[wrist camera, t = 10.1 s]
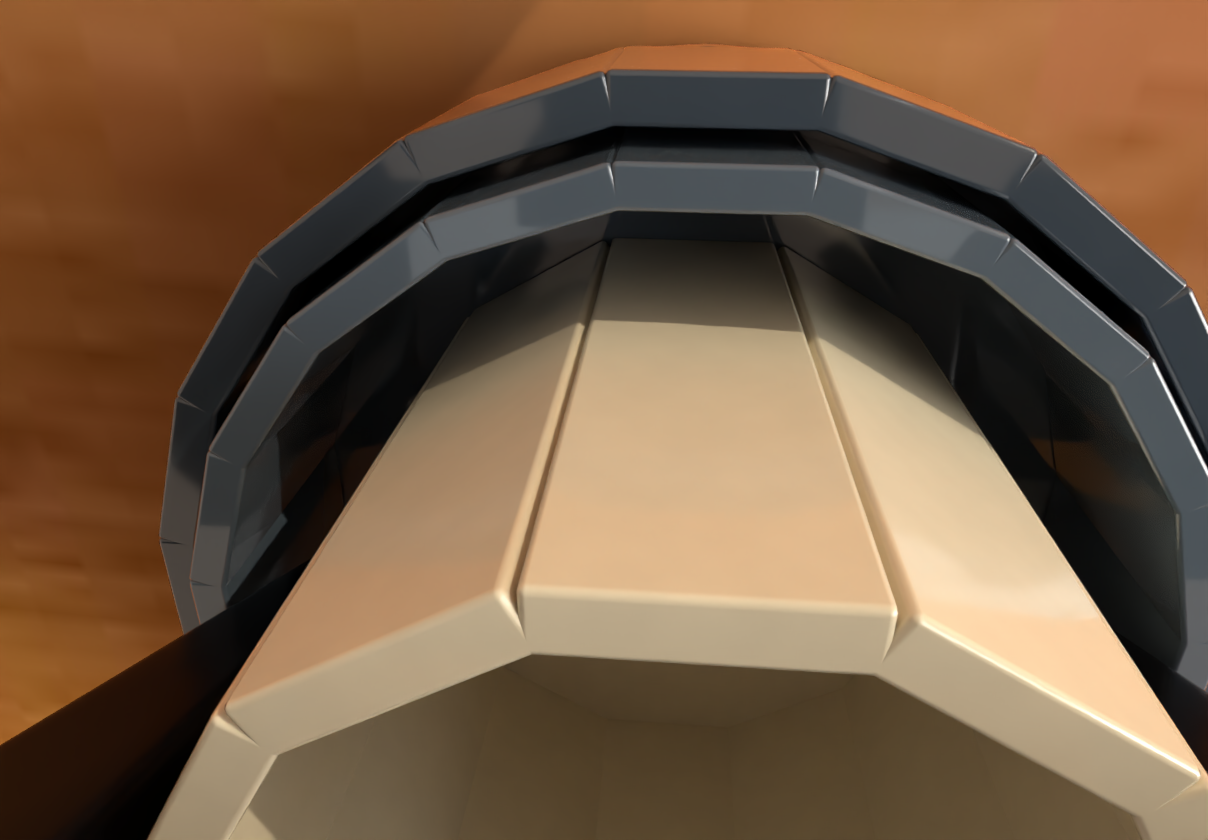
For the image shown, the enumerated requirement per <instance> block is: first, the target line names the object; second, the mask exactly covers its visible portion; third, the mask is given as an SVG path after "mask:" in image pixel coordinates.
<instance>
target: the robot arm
mask: <svg viewBox="0 0 1208 840" xmlns="http://www.w3.org/2000/svg"><path fill="white" fill-rule="evenodd" d="M311 559H312V558H311ZM311 559H309V560H307V561H305V562H304V563H302V564H300V565H299V566H297V567H295V568H294V569H292V570H290V571H289V572H287V573H285V574H284V575H282V576H280V577H279V578H277V579H275V580H274V581H272V582H270V583H269V584H267V585H265V586H264V587H262V588H260V589H259V590H257V591H255V592H254V593H252V594H251V595H249V596H247V597H246V598H244V599H242V600H241V601H239V602H237V603H236V604H234V605H232V606H231V607H229V608H227V609H226V610H224V611H222V612H221V613H219V614H217V615H216V616H214V617H212V618H211V619H209V620H207V621H206V622H204V623H202V624H201V625H199V626H197V627H196V628H194V629H192V630H191V631H189V632H187V633H186V634H184V635H182V636H181V637H179V638H177V639H176V640H174V641H173V642H171V643H169V644H168V645H166V646H164V647H163V648H161V649H159V650H158V651H156V652H154V653H153V654H151V655H149V656H148V657H146V658H144V659H143V660H141V661H139V662H138V663H136V664H134V665H133V666H131V667H129V668H128V669H126V670H124V671H123V672H121V673H119V674H118V675H116V676H114V677H113V678H111V679H109V680H108V681H106V682H104V683H103V684H101V685H99V686H98V687H96V688H94V689H93V690H91V691H90V692H88V693H86V694H85V695H83V696H81V697H80V698H78V699H76V700H75V701H73V702H71V703H70V704H68V705H66V706H65V707H63V708H61V709H60V710H58V711H56V712H55V713H53V714H51V715H50V716H48V717H46V718H45V719H43V720H41V721H40V722H38V723H36V724H35V725H33V726H31V727H30V728H28V729H26V730H25V731H23V732H21V733H20V734H18V735H16V736H15V737H13V738H11V739H10V740H8V741H6V742H5V743H3V744H1V745H0V840H146V839H147V837H148V835H149V834H150V832H151V830H152V828H153V826H154V824H155V822H156V820H157V818H158V816H159V814H160V812H161V811H162V809H163V807H164V805H165V803H166V801H167V799H168V797H169V795H170V793H171V791H172V789H173V788H174V786H175V784H176V782H177V780H178V778H179V776H180V774H181V772H182V770H183V768H184V766H185V765H186V763H187V761H188V759H189V757H190V755H191V753H192V751H193V749H194V747H195V745H196V743H197V742H198V740H199V738H200V736H201V734H202V732H203V730H204V728H205V726H206V724H207V722H208V720H209V718H210V717H211V715H212V713H213V712H214V710H215V709H216V707H217V706H218V704H219V702H220V701H221V699H222V698H223V696H224V695H225V693H226V692H227V690H228V688H229V687H230V685H231V684H232V682H233V681H234V679H235V677H236V676H237V674H238V673H239V671H240V670H241V668H242V667H243V665H244V663H245V662H246V660H247V659H248V657H249V656H250V654H251V652H252V651H253V649H254V648H255V646H256V645H257V643H258V642H259V640H260V638H261V637H262V635H263V634H264V632H265V631H266V629H267V627H268V626H269V624H270V623H271V621H272V620H273V618H274V617H275V615H276V613H277V612H278V610H279V609H280V607H281V606H282V604H283V603H284V601H285V599H286V598H287V596H288V595H289V593H290V592H291V590H292V588H293V587H294V585H295V584H296V582H297V581H298V579H299V578H300V576H301V574H302V573H303V571H304V570H305V568H306V567H307V565H308V563H309V562H310V560H311ZM1113 631H1114V632H1115V634H1116V636H1117V637H1118V639H1119V640H1120V642H1121V643H1122V645H1123V646H1124V648H1125V649H1126V651H1127V652H1128V654H1129V655H1130V657H1131V658H1132V660H1133V661H1134V663H1135V664H1136V666H1137V668H1138V669H1139V671H1140V672H1141V674H1142V675H1143V677H1144V678H1145V680H1146V681H1147V683H1148V684H1149V686H1150V687H1151V689H1152V690H1153V692H1154V693H1155V695H1156V696H1157V698H1158V699H1159V701H1160V703H1161V704H1162V706H1163V707H1164V709H1165V710H1166V712H1167V713H1168V715H1169V716H1170V718H1171V719H1172V721H1173V722H1174V724H1175V725H1176V727H1177V728H1178V730H1179V731H1180V733H1181V734H1182V736H1183V738H1184V739H1185V741H1186V742H1187V744H1188V745H1189V747H1190V748H1191V750H1192V751H1193V753H1194V754H1195V756H1196V757H1197V759H1198V760H1199V762H1200V763H1201V765H1202V766H1203V768H1204V770H1205V771H1206V773H1207V774H1208V692H1206V691H1205V690H1203V689H1202V688H1200V687H1199V686H1197V685H1196V684H1194V683H1193V682H1191V681H1190V680H1188V679H1187V678H1185V677H1184V676H1182V675H1181V674H1179V673H1178V672H1176V671H1175V670H1173V669H1172V668H1170V667H1169V666H1167V665H1166V664H1164V663H1163V662H1161V661H1160V660H1158V659H1157V658H1155V657H1154V656H1152V655H1151V654H1149V653H1148V652H1146V651H1145V650H1143V649H1142V648H1140V647H1139V646H1137V645H1136V644H1134V643H1133V642H1131V641H1130V640H1128V639H1127V638H1125V637H1124V636H1122V635H1121V634H1119V633H1118V632H1116V631H1115V630H1113Z"/></svg>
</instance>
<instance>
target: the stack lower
mask: <svg viewBox="0 0 1208 840" xmlns="http://www.w3.org/2000/svg"><path fill="white" fill-rule="evenodd" d="M610 127H651V128H698V129H744V130H791V131H818V132H821V133H824V134H826V135H829V136H832V137H834V138H837V139H840V140H843V141H845V142H848V143H851V144H853V145H856V146H859V147H862V148H864V149H867V150H870V151H872V152H875V153H878V154H881V155H883V156H886V157H889V158H891V159H894V160H897V161H900V162H902V163H905V164H908V165H910V166H913V167H916V168H919V169H921V170H924V171H927V172H929V173H932V174H935V175H936V176H937V177H939V178H940V179H941V180H942V181H944V182H945V183H946V184H948V185H949V186H950V187H951V188H953V189H954V190H955V191H957V192H958V193H959V194H960V195H962V196H963V197H964V198H965V199H967V200H968V201H969V202H971V203H972V204H973V205H974V206H976V207H977V208H978V209H979V210H981V211H982V212H983V213H985V214H986V215H987V216H988V217H990V218H991V219H992V220H993V221H995V222H996V223H997V224H999V225H1000V226H1001V227H1002V228H1004V229H1005V230H1006V231H1007V232H1009V233H1010V234H1011V235H1013V236H1014V237H1015V238H1016V239H1018V240H1019V241H1020V242H1021V243H1022V244H1023V245H1025V246H1026V247H1027V248H1028V249H1029V250H1030V251H1032V252H1033V253H1034V254H1035V255H1036V256H1037V257H1039V258H1040V259H1041V260H1042V261H1043V262H1044V263H1046V264H1047V265H1048V266H1049V267H1050V268H1051V269H1053V270H1054V271H1055V272H1056V273H1057V274H1058V275H1060V276H1061V277H1062V278H1063V279H1064V280H1065V281H1067V282H1068V283H1069V284H1070V285H1071V286H1072V287H1074V288H1075V289H1076V290H1077V291H1078V292H1079V293H1081V294H1082V295H1083V296H1084V297H1085V298H1086V299H1088V300H1089V301H1090V302H1091V303H1092V304H1093V305H1095V306H1096V307H1097V308H1098V309H1099V310H1100V311H1102V312H1103V313H1104V314H1105V315H1106V316H1107V317H1109V318H1110V319H1111V320H1112V321H1113V322H1114V323H1116V324H1117V325H1118V326H1119V327H1120V328H1121V329H1123V330H1124V331H1125V332H1126V333H1127V334H1128V335H1130V336H1131V337H1132V338H1133V339H1134V340H1135V341H1137V342H1138V343H1139V344H1140V345H1141V346H1142V347H1144V348H1145V349H1146V350H1147V351H1148V352H1149V355H1150V356H1151V357H1152V358H1153V359H1155V361H1156V363H1157V365H1158V367H1159V370H1160V372H1161V374H1162V376H1163V378H1164V380H1165V382H1166V384H1167V386H1168V388H1169V390H1170V392H1171V394H1172V396H1173V398H1174V400H1175V402H1176V404H1177V406H1178V408H1179V410H1180V412H1181V414H1182V416H1183V418H1184V420H1185V422H1186V425H1187V427H1188V429H1189V431H1190V433H1191V435H1192V437H1193V439H1194V441H1195V443H1196V445H1197V447H1198V449H1199V451H1200V453H1201V455H1202V457H1203V459H1204V461H1205V463H1206V465H1207V467H1208V322H1207V320H1206V318H1205V316H1204V314H1203V311H1202V309H1201V307H1200V305H1199V303H1198V301H1197V298H1196V296H1195V294H1194V292H1193V290H1192V288H1190V287H1189V286H1188V285H1187V283H1186V280H1185V279H1184V278H1183V277H1182V276H1181V275H1180V274H1179V273H1177V272H1176V271H1175V270H1174V269H1173V268H1172V267H1171V266H1170V265H1168V264H1167V263H1166V262H1165V261H1164V260H1163V259H1162V258H1161V257H1160V256H1158V255H1157V254H1156V253H1155V252H1154V251H1153V250H1152V249H1151V248H1149V247H1148V246H1147V245H1146V244H1145V243H1144V242H1143V241H1142V240H1141V239H1139V238H1138V237H1137V236H1136V235H1135V234H1134V233H1133V232H1132V231H1130V230H1129V229H1128V228H1127V227H1126V226H1125V225H1124V224H1123V223H1122V222H1120V221H1119V220H1118V219H1117V218H1116V217H1115V216H1114V215H1113V214H1111V213H1110V212H1109V211H1108V210H1107V209H1106V208H1105V207H1104V206H1102V205H1101V204H1100V203H1099V202H1098V201H1097V200H1096V199H1095V198H1094V197H1092V196H1091V195H1090V194H1089V193H1088V192H1087V191H1086V190H1085V189H1083V188H1082V187H1081V186H1080V185H1079V184H1078V183H1077V182H1076V181H1075V180H1073V179H1072V178H1071V177H1070V176H1069V175H1068V174H1067V173H1066V172H1064V171H1063V170H1062V169H1061V168H1060V167H1059V166H1058V165H1057V164H1055V163H1054V162H1053V161H1052V160H1051V159H1050V158H1049V157H1048V156H1047V155H1045V154H1043V153H1041V152H1039V151H1037V150H1036V149H1035V148H1034V147H1031V146H1029V145H1027V144H1025V143H1023V142H1021V141H1019V140H1017V139H1015V138H1013V137H1011V136H1009V135H1007V134H1005V133H1003V132H1001V131H999V130H997V129H994V128H992V127H990V126H988V125H986V124H984V123H982V122H980V121H978V120H976V119H974V118H972V117H970V116H968V115H966V114H964V113H962V112H960V111H957V110H955V109H953V108H951V107H949V106H947V105H945V104H942V103H939V102H937V101H934V100H931V99H929V98H926V97H923V96H921V95H918V94H915V93H913V92H910V91H907V90H905V89H902V88H899V87H897V86H894V85H892V84H889V83H886V82H884V81H881V80H878V79H876V78H873V77H871V76H868V75H865V74H863V73H860V72H858V71H855V70H853V69H850V68H848V67H845V66H842V65H840V64H836V63H833V62H830V61H828V60H825V59H822V58H820V57H817V56H814V55H812V54H809V53H806V52H804V51H801V50H795V51H794V50H792V49H790V48H755V47H744V46H732V45H720V44H709V43H707V44H689V45H671V46H628V47H626V48H625V49H624V48H622V47H619V48H616V49H613V50H610V51H607V52H604V53H601V54H598V55H595V56H592V57H589V58H584V59H579V60H575V61H573V62H570V63H567V64H564V65H561V66H558V67H556V68H553V69H550V70H547V71H544V72H541V73H538V74H536V75H533V76H530V77H527V78H524V79H521V80H519V81H516V82H514V83H512V84H509V85H506V86H503V87H500V88H497V89H494V90H491V91H488V92H485V93H482V94H479V95H476V96H473V97H472V98H470V99H468V100H466V101H464V102H462V103H461V104H459V105H457V106H455V107H454V108H452V109H450V110H448V111H447V112H445V113H443V114H441V115H439V116H438V117H436V118H434V119H432V120H431V121H429V122H427V123H425V124H424V125H422V126H420V127H418V128H416V129H415V130H413V131H411V132H409V133H408V134H406V135H404V136H402V137H401V138H399V139H397V140H396V141H394V142H393V143H392V144H391V145H389V146H388V147H387V148H386V149H384V150H383V151H382V152H381V153H379V154H378V155H377V156H376V157H374V158H373V159H372V160H371V161H369V162H368V163H367V164H366V165H364V166H363V167H362V168H361V169H359V170H358V171H357V172H356V173H354V174H353V175H352V176H351V177H349V178H348V179H347V180H346V181H344V182H343V183H342V184H341V185H339V186H338V187H337V188H336V189H334V190H333V191H332V192H331V193H329V194H328V195H327V196H326V197H325V198H323V199H322V200H321V201H320V202H318V203H317V204H316V205H315V206H313V207H312V208H311V209H310V210H308V211H307V212H306V213H305V214H303V215H302V216H301V217H300V218H298V219H297V220H296V221H295V222H293V223H292V224H291V225H290V226H288V227H287V228H286V229H285V230H283V231H282V232H281V233H280V234H278V235H277V236H276V237H275V238H273V239H272V240H271V241H270V242H268V243H267V244H266V245H265V246H263V247H262V248H261V249H260V250H259V251H258V253H257V255H256V256H255V257H253V258H252V259H251V261H250V263H249V264H248V266H247V268H246V270H245V272H244V273H243V275H242V277H241V279H240V280H239V282H238V284H237V286H236V288H235V289H234V291H233V293H232V295H231V296H230V298H229V300H228V302H227V304H226V305H225V307H224V309H223V311H222V312H221V314H220V316H219V318H218V320H217V321H216V323H215V325H214V327H213V328H212V330H211V332H210V334H209V336H208V337H207V339H206V341H205V343H204V344H203V346H202V348H201V350H200V352H199V353H198V355H197V357H196V359H195V360H194V362H193V364H192V366H191V368H190V369H189V371H188V373H187V375H186V376H185V378H184V380H183V382H182V384H181V385H180V387H179V389H178V391H177V397H176V398H175V401H174V409H173V418H172V426H171V435H170V443H169V452H168V460H167V469H166V477H165V485H164V494H163V502H162V511H161V519H160V528H159V537H160V541H159V544H160V547H161V551H162V555H163V559H164V563H165V567H166V571H167V575H168V578H169V582H170V586H171V590H172V594H173V598H174V602H175V605H176V609H177V613H178V617H179V621H180V625H181V629H182V633H183V635H184V634H186V633H187V632H189V631H191V630H192V629H194V628H196V627H197V626H199V625H200V623H199V619H198V615H197V611H196V607H195V603H194V599H193V595H192V591H191V587H190V581H191V579H190V577H189V576H190V569H191V562H192V555H193V548H194V541H195V534H196V527H197V520H198V513H199V506H200V499H201V492H202V485H203V478H204V471H205V464H206V457H207V453H208V451H209V447H210V444H211V443H212V441H213V439H214V438H215V436H216V434H217V433H218V431H219V429H220V428H221V426H222V424H223V423H224V421H225V419H226V418H227V416H228V414H229V413H230V411H231V410H232V408H233V406H234V405H235V403H236V401H237V400H238V398H239V396H240V395H241V393H242V391H243V390H244V388H245V386H246V385H247V383H248V381H249V380H250V378H251V376H252V375H253V373H254V371H255V370H256V368H257V366H258V365H259V363H260V362H261V360H262V358H263V357H264V355H265V353H266V352H267V350H268V348H269V347H270V345H271V343H272V342H273V340H274V338H275V337H276V335H277V333H278V332H279V330H280V328H281V327H282V326H283V325H284V324H285V323H286V322H287V320H288V319H289V318H290V317H291V316H293V315H294V314H295V313H296V312H297V311H298V310H300V309H301V308H302V307H303V306H304V305H305V304H307V303H308V302H309V301H310V300H311V299H312V298H313V297H315V296H316V295H317V294H318V293H319V292H320V291H322V290H323V289H324V288H325V287H326V286H327V285H329V284H330V283H331V282H332V281H333V280H334V279H335V278H337V277H338V276H339V275H340V274H341V273H342V272H344V271H345V270H346V269H347V268H348V267H349V266H350V265H352V264H353V263H354V262H355V261H356V260H357V259H359V258H360V257H361V256H362V255H363V254H364V253H366V252H367V251H368V250H369V249H370V248H371V247H372V246H374V245H375V244H376V243H377V242H378V241H379V240H381V239H382V238H383V237H384V236H385V235H386V234H388V233H389V232H390V231H391V230H392V229H393V228H395V227H396V226H397V225H399V224H400V223H401V222H402V221H404V220H405V219H406V218H408V217H409V216H410V215H412V214H413V213H414V212H416V211H417V210H418V209H420V208H421V207H422V206H424V205H425V204H426V203H428V202H429V201H430V200H431V199H433V198H434V197H435V196H436V195H438V194H439V193H441V192H442V191H443V190H445V189H446V188H447V187H449V186H450V185H451V184H453V183H454V182H455V181H456V180H458V179H459V178H460V177H462V176H463V175H464V174H466V173H468V172H471V171H475V170H478V169H481V168H484V167H487V166H490V165H493V164H497V163H500V162H503V161H506V160H509V159H512V158H516V157H519V156H522V155H525V154H528V153H531V152H535V151H538V150H541V149H544V148H547V147H550V146H553V145H557V144H560V143H563V142H566V141H569V140H572V139H576V138H579V137H582V136H585V135H588V134H591V133H595V132H598V131H601V130H604V129H607V128H610ZM1205 691H1206V692H1208V685H1207V687H1206V690H1205Z"/></svg>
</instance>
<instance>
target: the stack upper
mask: <svg viewBox="0 0 1208 840" xmlns="http://www.w3.org/2000/svg"><path fill="white" fill-rule="evenodd" d="M615 238H631V239H664V240H698V241H731V242H765V243H773V244H774V245H775V248H776V251H778V249H779V248H781V247H787V248H788V249H790V250H791V251H793V252H794V253H796V254H798V255H799V256H801V257H802V258H804V259H806V260H807V261H809V262H810V263H812V264H814V265H815V266H817V267H818V268H820V269H822V270H823V271H825V272H826V273H828V274H830V275H831V276H833V277H834V278H836V279H838V280H839V281H841V282H842V283H844V284H846V285H847V286H849V287H850V288H852V289H854V290H855V291H857V292H858V293H860V294H861V295H863V296H865V297H866V298H868V299H869V300H871V301H873V302H874V303H876V304H877V305H879V306H881V307H882V308H884V309H885V310H887V311H889V312H890V313H892V314H893V315H895V316H897V317H898V318H900V319H901V320H903V321H905V322H906V323H908V324H909V325H911V327H912V329H913V330H914V332H915V333H917V334H918V335H919V336H920V337H921V339H922V340H923V342H924V343H925V345H926V346H927V348H928V349H929V351H930V352H931V354H932V355H933V357H934V358H935V360H936V362H937V363H938V365H939V366H940V368H941V369H942V371H943V372H944V374H945V375H946V377H947V378H948V380H949V381H950V383H951V384H952V386H953V387H954V389H955V390H956V392H957V393H958V395H959V397H960V398H961V400H962V401H963V403H964V404H965V406H966V407H967V409H968V410H969V412H970V413H971V415H972V416H973V418H974V419H975V421H976V422H977V424H978V425H979V427H980V428H981V430H982V432H983V433H984V435H985V436H986V438H987V439H988V441H989V442H990V444H991V445H992V447H993V448H994V450H995V451H996V453H997V454H998V456H999V457H1000V459H1001V460H1002V462H1003V464H1004V465H1005V467H1006V468H1007V470H1008V471H1009V473H1010V474H1011V476H1012V477H1013V479H1014V480H1015V482H1016V483H1017V485H1018V486H1019V488H1020V489H1021V491H1022V492H1023V494H1024V495H1025V497H1026V499H1027V500H1028V502H1029V503H1030V505H1031V506H1032V508H1033V509H1034V511H1035V512H1036V514H1037V515H1038V517H1039V518H1040V520H1041V521H1042V523H1043V524H1044V526H1045V527H1046V529H1047V530H1048V532H1049V534H1050V535H1051V537H1052V538H1053V540H1054V541H1055V543H1056V544H1057V546H1058V547H1059V549H1060V550H1061V552H1062V553H1063V555H1064V556H1065V558H1066V559H1067V561H1068V562H1069V564H1070V566H1071V567H1072V569H1073V570H1074V572H1075V573H1076V575H1077V576H1078V578H1079V579H1080V581H1081V582H1082V584H1083V585H1084V587H1085V588H1086V590H1087V591H1088V593H1089V594H1090V596H1091V597H1092V599H1093V601H1094V602H1095V604H1096V605H1097V607H1098V608H1099V610H1100V611H1101V613H1102V614H1103V616H1104V617H1105V619H1106V620H1107V622H1108V623H1109V625H1110V626H1111V628H1112V629H1113V630H1115V631H1116V632H1118V633H1119V634H1121V635H1122V636H1124V637H1125V638H1127V639H1128V640H1130V641H1131V642H1133V643H1134V644H1136V645H1137V646H1139V647H1140V648H1142V649H1143V650H1145V651H1146V652H1148V653H1149V654H1151V655H1152V656H1154V657H1155V658H1157V659H1158V660H1160V661H1161V662H1163V663H1164V664H1166V665H1167V666H1169V667H1170V668H1172V669H1173V670H1175V671H1176V672H1178V673H1179V674H1181V675H1182V676H1184V677H1185V678H1187V679H1188V680H1190V681H1191V682H1193V683H1194V684H1196V685H1197V686H1199V687H1200V688H1202V689H1203V690H1206V687H1207V685H1208V467H1207V465H1206V463H1205V461H1204V459H1203V457H1202V455H1201V453H1200V451H1199V449H1198V447H1197V445H1196V443H1195V441H1194V439H1193V437H1192V435H1191V433H1190V431H1189V429H1188V427H1187V425H1186V422H1185V420H1184V418H1183V416H1182V414H1181V412H1180V410H1179V408H1178V406H1177V404H1176V402H1175V400H1174V398H1173V396H1172V394H1171V392H1170V390H1169V388H1168V386H1167V384H1166V382H1165V380H1164V378H1163V376H1162V374H1161V372H1160V370H1159V367H1158V365H1157V363H1156V361H1155V359H1153V358H1152V357H1151V356H1150V355H1149V352H1148V351H1147V350H1146V349H1145V348H1144V347H1142V346H1141V345H1140V344H1139V343H1138V342H1137V341H1135V340H1134V339H1133V338H1132V337H1131V336H1130V335H1128V334H1127V333H1126V332H1125V331H1124V330H1123V329H1121V328H1120V327H1119V326H1118V325H1117V324H1116V323H1114V322H1113V321H1112V320H1111V319H1110V318H1109V317H1107V316H1106V315H1105V314H1104V313H1103V312H1102V311H1100V310H1099V309H1098V308H1097V307H1096V306H1095V305H1093V304H1092V303H1091V302H1090V301H1089V300H1088V299H1086V298H1085V297H1084V296H1083V295H1082V294H1081V293H1079V292H1078V291H1077V290H1076V289H1075V288H1074V287H1072V286H1071V285H1070V284H1069V283H1068V282H1067V281H1065V280H1064V279H1063V278H1062V277H1061V276H1060V275H1058V274H1057V273H1056V272H1055V271H1054V270H1053V269H1051V268H1050V267H1049V266H1048V265H1047V264H1046V263H1044V262H1043V261H1042V260H1041V259H1040V258H1039V257H1037V256H1036V255H1035V254H1034V253H1033V252H1032V251H1030V250H1029V249H1028V248H1027V247H1026V246H1025V245H1023V244H1022V243H1021V242H1020V241H1019V240H1018V239H1016V238H1015V237H1014V236H1013V235H1011V234H1010V233H1009V232H1007V231H1006V230H1005V229H1004V228H1002V227H1001V226H1000V225H999V224H997V223H996V222H995V221H993V220H992V219H991V218H990V217H988V216H987V215H986V214H985V213H983V212H982V211H981V210H979V209H978V208H977V207H976V206H974V205H973V204H972V203H971V202H969V201H968V200H967V199H965V198H964V197H963V196H962V195H960V194H959V193H958V192H957V191H955V190H954V189H953V188H951V187H950V186H949V185H948V184H946V183H945V182H944V181H942V180H941V179H940V178H939V177H937V176H936V175H935V174H932V173H929V172H927V171H924V170H921V169H919V168H916V167H913V166H910V165H908V164H905V163H902V162H900V161H897V160H894V159H891V158H889V157H886V156H883V155H881V154H878V153H875V152H872V151H870V150H867V149H864V148H862V147H859V146H856V145H853V144H851V143H848V142H845V141H843V140H840V139H837V138H834V137H832V136H829V135H826V134H824V133H821V132H818V131H791V130H744V129H698V128H651V127H610V128H607V129H604V130H601V131H598V132H595V133H591V134H588V135H585V136H582V137H579V138H576V139H572V140H569V141H566V142H563V143H560V144H557V145H553V146H550V147H547V148H544V149H541V150H538V151H535V152H531V153H528V154H525V155H522V156H519V157H516V158H512V159H509V160H506V161H503V162H500V163H497V164H493V165H490V166H487V167H484V168H481V169H478V170H475V171H471V172H468V173H466V174H464V175H463V176H462V177H460V178H459V179H458V180H456V181H455V182H454V183H453V184H451V185H450V186H449V187H447V188H446V189H445V190H443V191H442V192H441V193H439V194H438V195H436V196H435V197H434V198H433V199H431V200H430V201H429V202H428V203H426V204H425V205H424V206H422V207H421V208H420V209H418V210H417V211H416V212H414V213H413V214H412V215H410V216H409V217H408V218H406V219H405V220H404V221H402V222H401V223H400V224H399V225H397V226H396V227H395V228H393V229H392V230H391V231H390V232H389V233H388V234H386V235H385V236H384V237H383V238H382V239H381V240H379V241H378V242H377V243H376V244H375V245H374V246H372V247H371V248H370V249H369V250H368V251H367V252H366V253H364V254H363V255H362V256H361V257H360V258H359V259H357V260H356V261H355V262H354V263H353V264H352V265H350V266H349V267H348V268H347V269H346V270H345V271H344V272H342V273H341V274H340V275H339V276H338V277H337V278H335V279H334V280H333V281H332V282H331V283H330V284H329V285H327V286H326V287H325V288H324V289H323V290H322V291H320V292H319V293H318V294H317V295H316V296H315V297H313V298H312V299H311V300H310V301H309V302H308V303H307V304H305V305H304V306H303V307H302V308H301V309H300V310H298V311H297V312H296V313H295V314H294V315H293V316H291V317H290V318H289V319H288V320H287V322H286V323H285V324H284V325H283V326H282V327H281V328H280V330H279V332H278V333H277V335H276V337H275V338H274V340H273V342H272V343H271V345H270V347H269V348H268V350H267V352H266V353H265V355H264V357H263V358H262V360H261V362H260V363H259V365H258V366H257V368H256V370H255V371H254V373H253V375H252V376H251V378H250V380H249V381H248V383H247V385H246V386H245V388H244V390H243V391H242V393H241V395H240V396H239V398H238V400H237V401H236V403H235V405H234V406H233V408H232V410H231V411H230V413H229V414H228V416H227V418H226V419H225V421H224V423H223V424H222V426H221V428H220V429H219V431H218V433H217V434H216V436H215V438H214V439H213V441H212V443H211V444H210V447H209V451H208V453H207V457H206V464H205V471H204V478H203V485H202V492H201V499H200V506H199V513H198V520H197V527H196V534H195V541H194V548H193V555H192V562H191V569H190V576H189V577H190V579H191V581H190V587H191V591H192V595H193V599H194V603H195V607H196V611H197V615H198V619H199V623H200V625H201V624H202V623H204V622H206V621H207V620H209V619H211V618H212V617H214V616H216V615H217V614H219V613H221V612H222V611H224V610H226V609H227V608H229V607H231V606H232V605H234V604H236V603H237V602H239V601H241V600H242V599H244V598H246V597H247V596H249V595H251V594H252V593H254V592H255V591H257V590H259V589H260V588H262V587H264V586H265V585H267V584H269V583H270V582H272V581H274V580H275V579H277V578H279V577H280V576H282V575H284V574H285V573H287V572H289V571H290V570H292V569H294V568H295V567H297V566H299V565H300V564H302V563H304V562H305V561H307V560H309V559H311V558H312V557H313V556H314V554H315V553H316V551H317V549H318V548H319V546H320V545H321V543H322V542H323V540H324V538H325V537H326V535H327V534H328V532H329V531H330V529H331V528H332V526H333V524H334V523H335V521H336V520H337V518H338V517H339V515H340V514H341V512H342V510H343V509H344V507H345V506H346V504H347V503H348V501H349V499H350V498H351V496H352V495H353V493H354V492H355V490H356V489H357V487H358V485H359V484H360V482H361V481H362V479H363V478H364V476H365V474H366V473H367V471H368V470H369V468H370V467H371V465H372V464H373V462H374V460H375V459H376V457H377V456H378V454H379V453H380V451H381V449H382V448H383V446H384V445H385V443H386V442H387V440H388V439H389V437H390V435H391V434H392V432H393V431H394V429H395V428H396V426H397V424H398V423H399V421H400V420H401V418H402V417H403V415H404V414H405V412H406V410H407V409H408V407H409V406H410V404H411V403H412V401H413V400H414V398H415V396H416V395H417V393H418V392H419V390H420V389H421V387H422V385H423V384H424V382H425V381H426V379H427V378H428V376H429V375H430V373H431V371H432V370H433V368H434V367H435V365H436V364H437V362H438V360H439V359H440V357H441V356H442V354H443V353H444V351H445V350H446V348H447V346H448V345H449V343H450V342H451V340H452V339H453V337H454V335H455V334H456V332H457V331H458V329H459V328H460V326H461V325H462V323H463V321H464V320H465V319H466V318H467V317H470V316H471V314H472V313H473V311H474V310H475V309H477V308H478V307H480V306H482V305H484V304H486V303H488V302H490V301H491V300H493V299H495V298H497V297H499V296H501V295H503V294H504V293H506V292H508V291H510V290H512V289H514V288H516V287H517V286H519V285H521V284H523V283H525V282H527V281H529V280H531V279H532V278H534V277H536V276H538V275H540V274H542V273H544V272H545V271H547V270H549V269H551V268H553V267H555V266H557V265H558V264H560V263H562V262H564V261H566V260H568V259H570V258H571V257H573V256H575V255H577V254H579V253H581V252H583V251H584V250H586V249H588V248H590V247H592V246H594V245H596V244H597V243H599V242H602V241H605V242H606V243H608V245H609V247H610V245H611V242H612V240H613V239H615Z"/></svg>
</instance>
